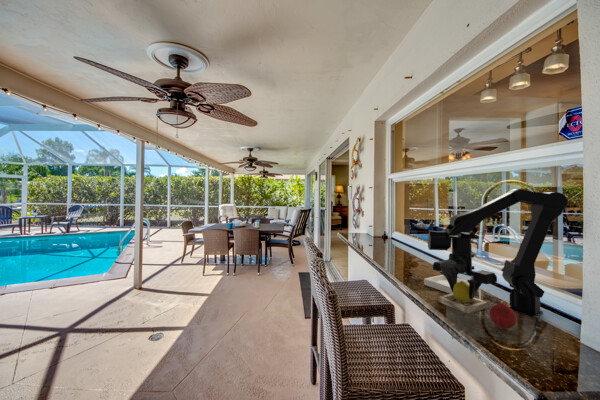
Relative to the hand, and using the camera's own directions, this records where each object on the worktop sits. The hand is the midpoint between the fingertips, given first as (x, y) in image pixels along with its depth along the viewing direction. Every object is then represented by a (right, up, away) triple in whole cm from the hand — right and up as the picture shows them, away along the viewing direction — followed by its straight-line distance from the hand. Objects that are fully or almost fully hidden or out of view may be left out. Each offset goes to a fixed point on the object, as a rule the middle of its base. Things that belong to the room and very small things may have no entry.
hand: (462, 295), depth 85 cm
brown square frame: (0, -3, 0) cm, 3 cm away
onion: (+1, -3, -16) cm, 16 cm away
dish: (+6, -3, +17) cm, 18 cm away
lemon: (0, -3, 0) cm, 3 cm away
